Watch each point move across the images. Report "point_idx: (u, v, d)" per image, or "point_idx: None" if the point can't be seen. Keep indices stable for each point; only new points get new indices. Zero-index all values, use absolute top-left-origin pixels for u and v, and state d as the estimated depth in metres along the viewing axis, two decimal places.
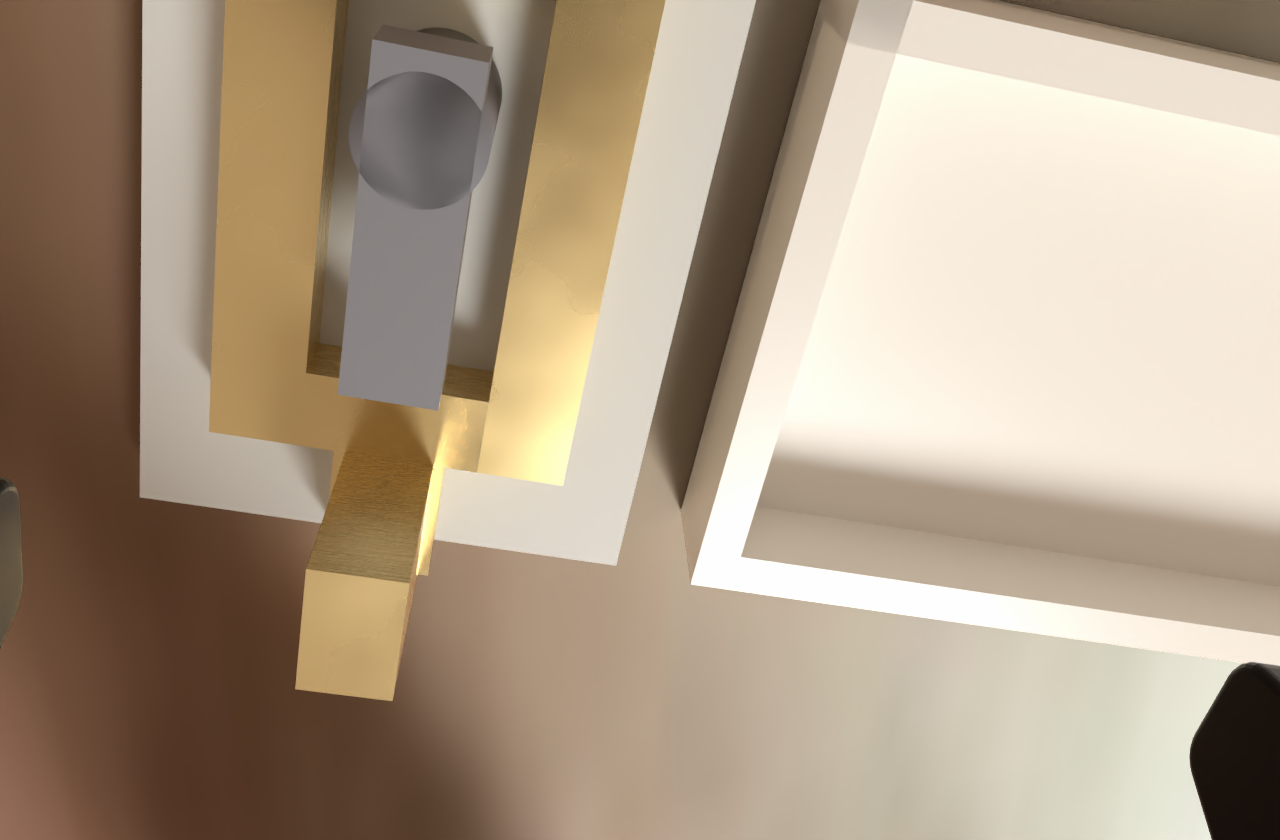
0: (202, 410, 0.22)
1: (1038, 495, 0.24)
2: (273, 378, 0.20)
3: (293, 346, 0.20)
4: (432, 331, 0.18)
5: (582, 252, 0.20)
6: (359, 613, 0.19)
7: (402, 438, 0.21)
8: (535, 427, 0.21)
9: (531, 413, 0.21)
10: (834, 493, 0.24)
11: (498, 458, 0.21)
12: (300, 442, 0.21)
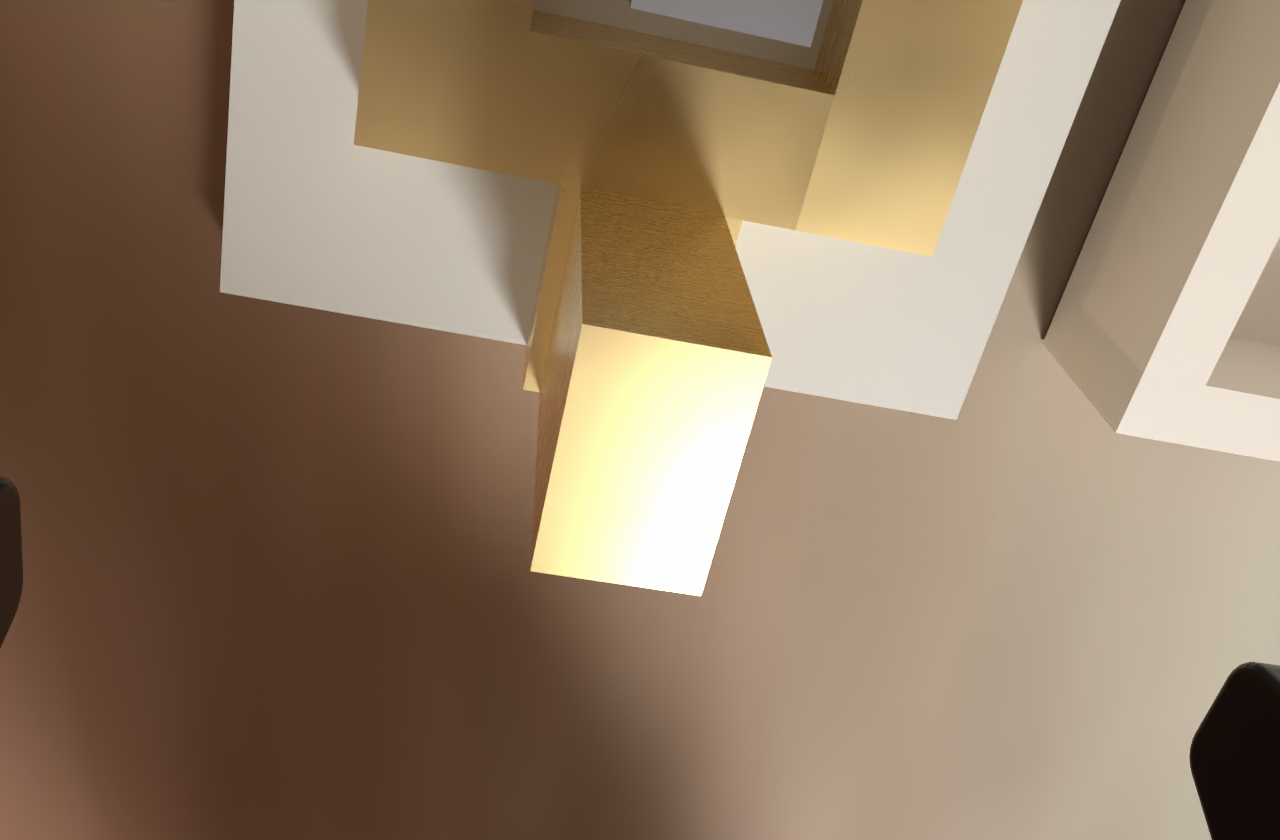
0: (330, 135, 0.13)
1: None
2: (473, 40, 0.12)
3: None
4: None
5: None
6: (669, 420, 0.10)
7: (679, 164, 0.12)
8: (905, 145, 0.12)
9: (904, 118, 0.12)
10: None
11: (834, 204, 0.13)
12: (504, 171, 0.13)
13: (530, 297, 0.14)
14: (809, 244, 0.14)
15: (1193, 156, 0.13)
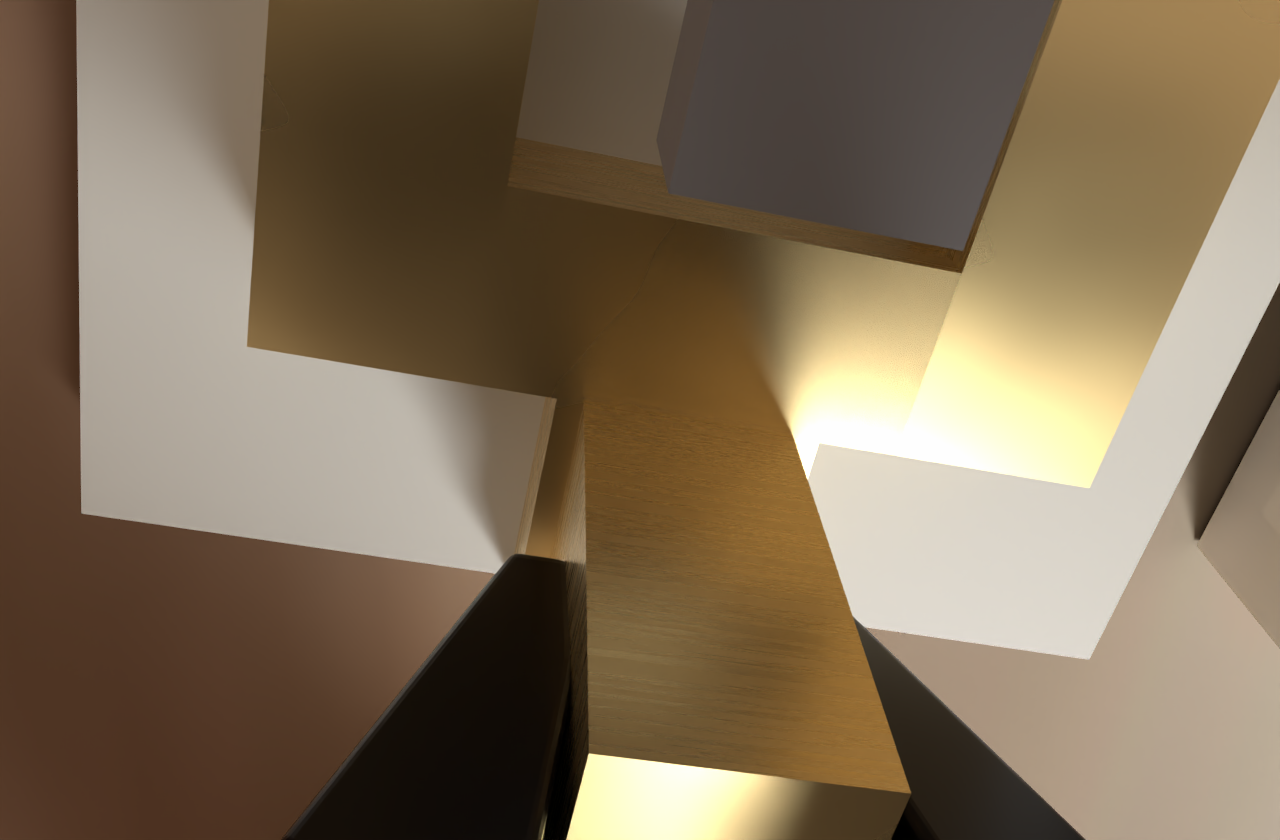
0: (226, 309, 0.09)
1: None
2: (422, 199, 0.08)
3: (481, 108, 0.08)
4: None
5: None
6: None
7: (729, 368, 0.08)
8: (1061, 341, 0.09)
9: (1061, 304, 0.08)
10: None
11: (953, 420, 0.09)
12: (473, 378, 0.09)
13: (514, 516, 0.10)
14: None
15: None
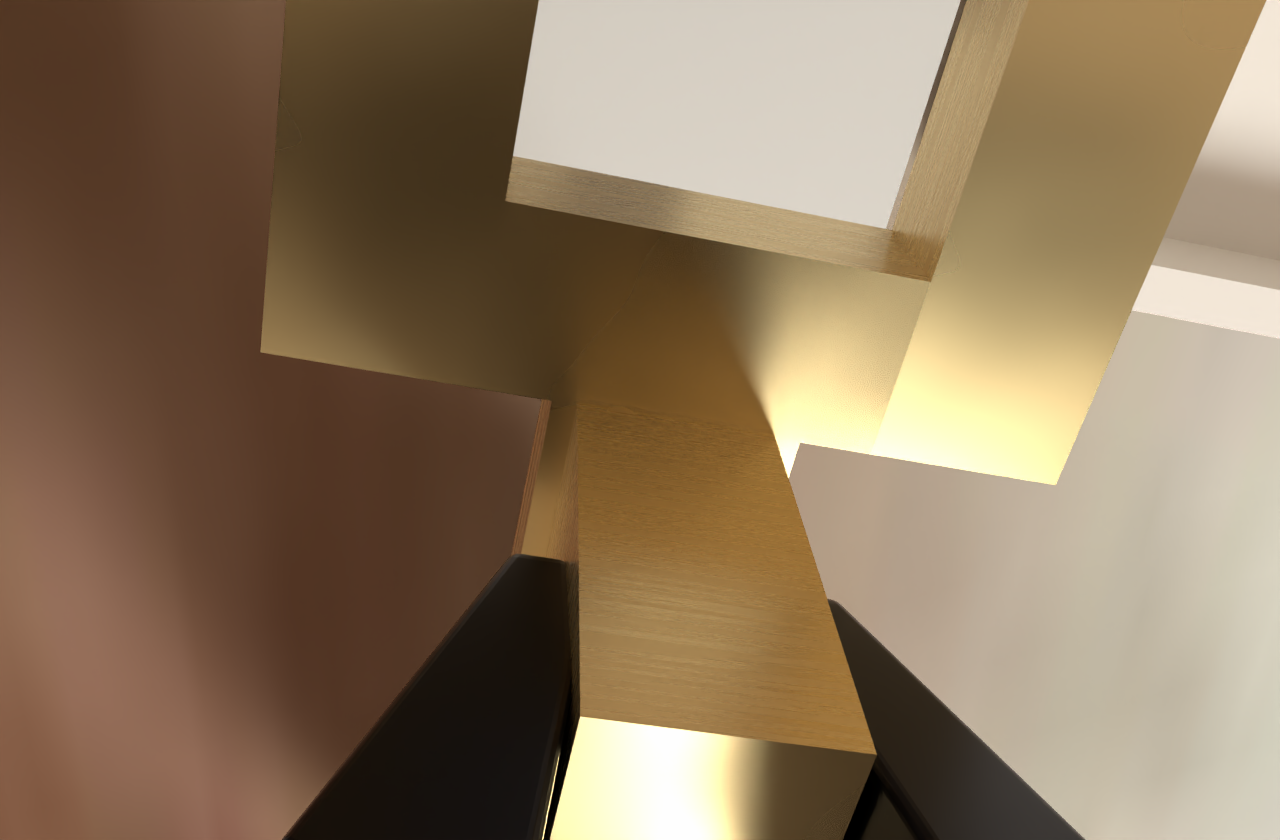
0: None
1: None
2: (425, 212, 0.08)
3: (480, 128, 0.08)
4: None
5: None
6: (714, 837, 0.06)
7: (714, 373, 0.09)
8: (1025, 345, 0.09)
9: (1024, 310, 0.09)
10: None
11: (925, 420, 0.09)
12: (472, 382, 0.09)
13: None
14: (751, 141, 0.19)
15: None
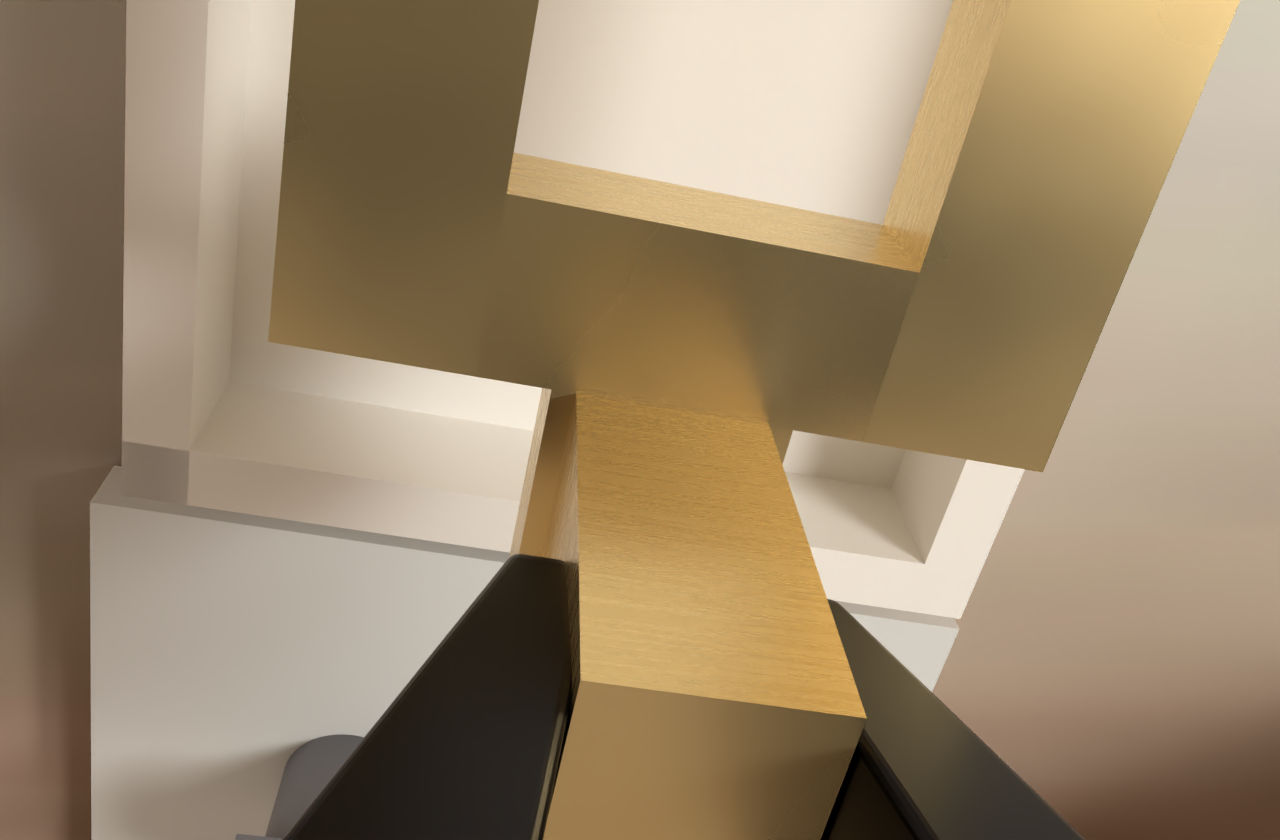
0: None
1: None
2: (427, 206, 0.09)
3: (482, 123, 0.08)
4: None
5: None
6: (710, 801, 0.07)
7: (709, 360, 0.09)
8: (1012, 335, 0.09)
9: (1012, 299, 0.09)
10: None
11: (915, 409, 0.10)
12: (474, 372, 0.09)
13: None
14: None
15: None
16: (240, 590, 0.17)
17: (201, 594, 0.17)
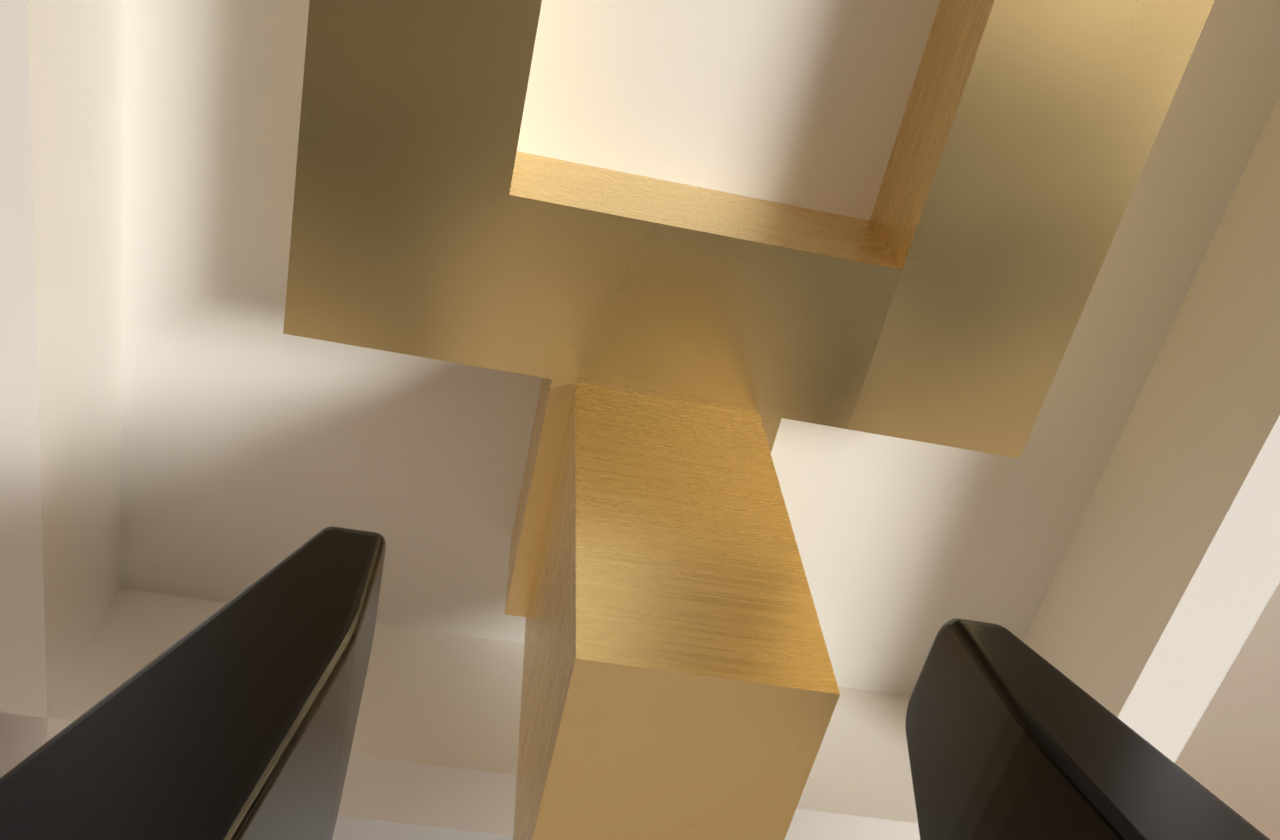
0: None
1: None
2: (435, 206, 0.09)
3: (486, 128, 0.09)
4: None
5: None
6: (696, 769, 0.07)
7: (701, 353, 0.10)
8: (991, 329, 0.10)
9: (989, 296, 0.10)
10: (1009, 552, 0.12)
11: (898, 398, 0.10)
12: (478, 361, 0.10)
13: None
14: None
15: None
16: None
17: None
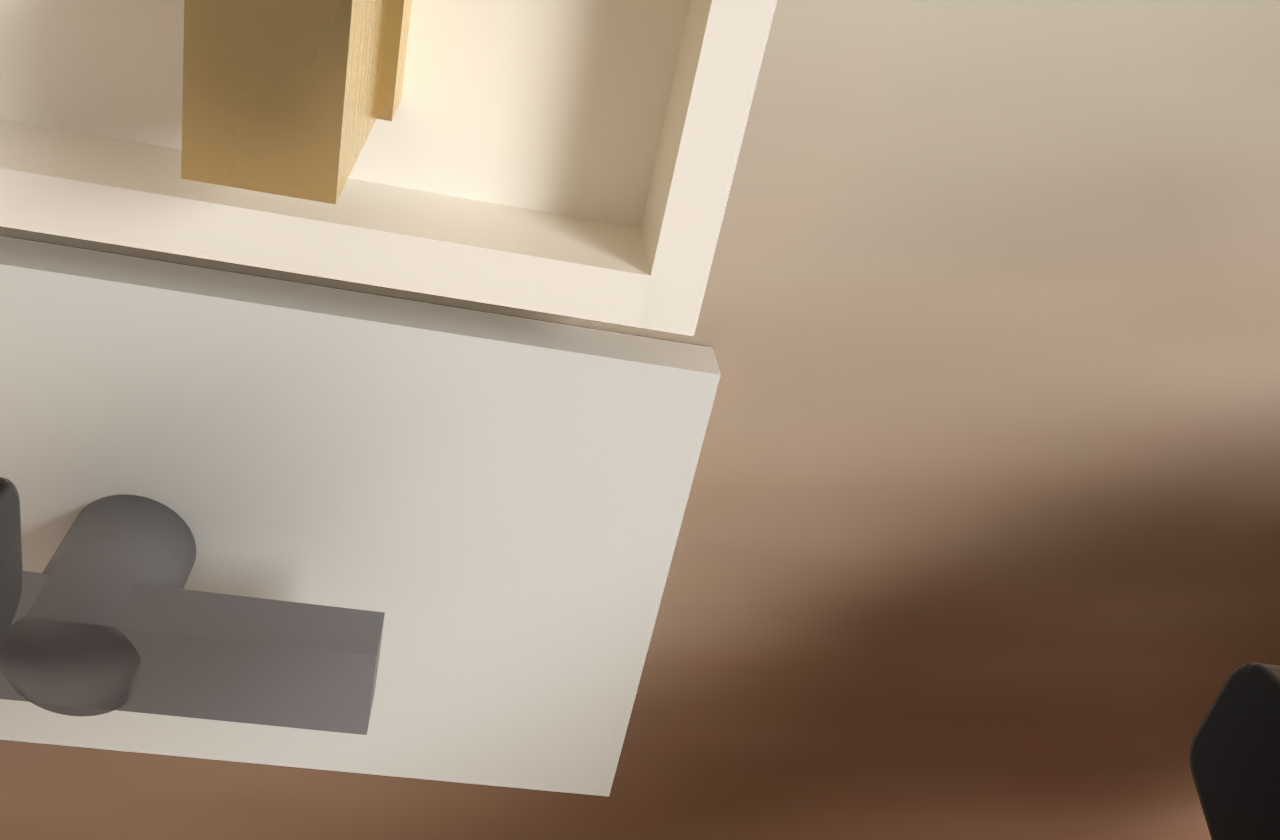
0: (508, 743, 0.22)
1: None
2: None
3: None
4: (279, 658, 0.17)
5: None
6: (277, 23, 0.12)
7: None
8: None
9: None
10: (630, 85, 0.17)
11: None
12: None
13: (611, 650, 0.21)
14: (570, 494, 0.20)
15: None
16: (3, 336, 0.18)
17: None
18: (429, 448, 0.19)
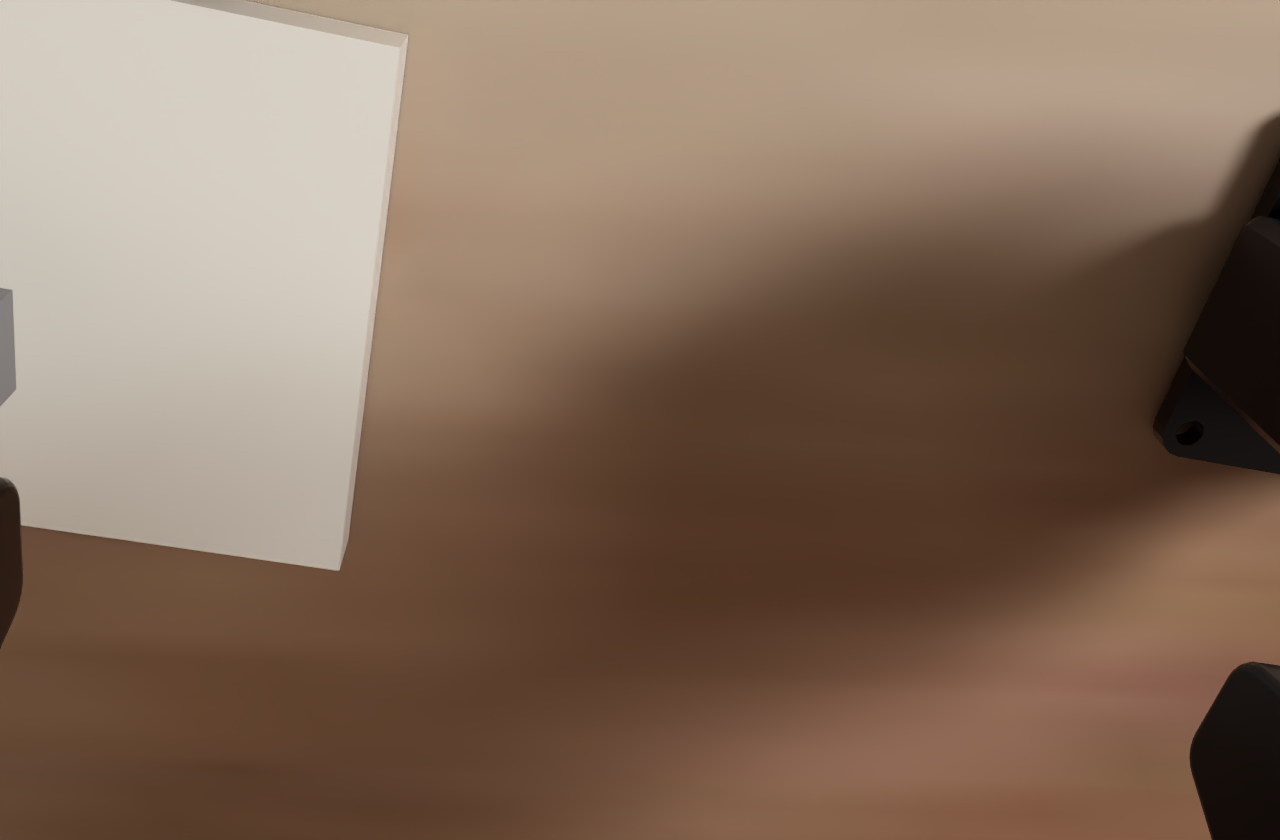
0: (220, 500, 0.21)
1: None
2: None
3: None
4: None
5: None
6: None
7: None
8: None
9: None
10: None
11: None
12: None
13: (319, 389, 0.20)
14: (250, 192, 0.18)
15: None
16: None
17: None
18: (86, 129, 0.17)
